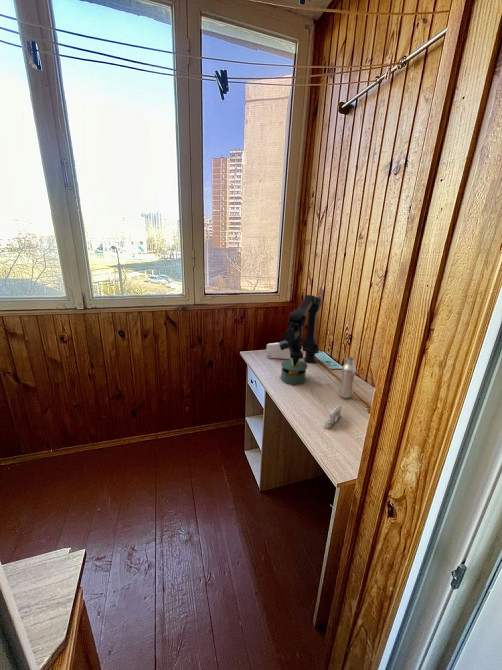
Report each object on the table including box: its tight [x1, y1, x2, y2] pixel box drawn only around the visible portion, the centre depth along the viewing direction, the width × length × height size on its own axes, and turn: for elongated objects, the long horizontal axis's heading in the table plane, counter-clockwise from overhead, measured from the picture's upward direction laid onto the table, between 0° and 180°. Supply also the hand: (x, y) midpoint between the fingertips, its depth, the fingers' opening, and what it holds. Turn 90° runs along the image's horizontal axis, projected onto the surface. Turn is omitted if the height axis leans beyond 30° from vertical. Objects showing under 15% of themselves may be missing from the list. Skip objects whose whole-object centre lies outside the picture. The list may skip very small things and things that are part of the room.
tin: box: [280, 367, 307, 386], centre depth 156 cm, size 13×13×5 cm
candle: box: [289, 370, 298, 375], centre depth 156 cm, size 5×5×4 cm
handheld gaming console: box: [265, 342, 292, 359], centre depth 180 cm, size 11×3×15 cm
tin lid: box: [280, 358, 308, 371], centre depth 154 cm, size 14×14×6 cm
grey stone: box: [325, 404, 342, 430], centre depth 122 cm, size 12×2×6 cm, turn 140°
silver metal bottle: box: [338, 356, 357, 399], centre depth 139 cm, size 6×7×20 cm
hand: (294, 363), depth 154 cm, fingers closed on tin lid, 2 cm apart
